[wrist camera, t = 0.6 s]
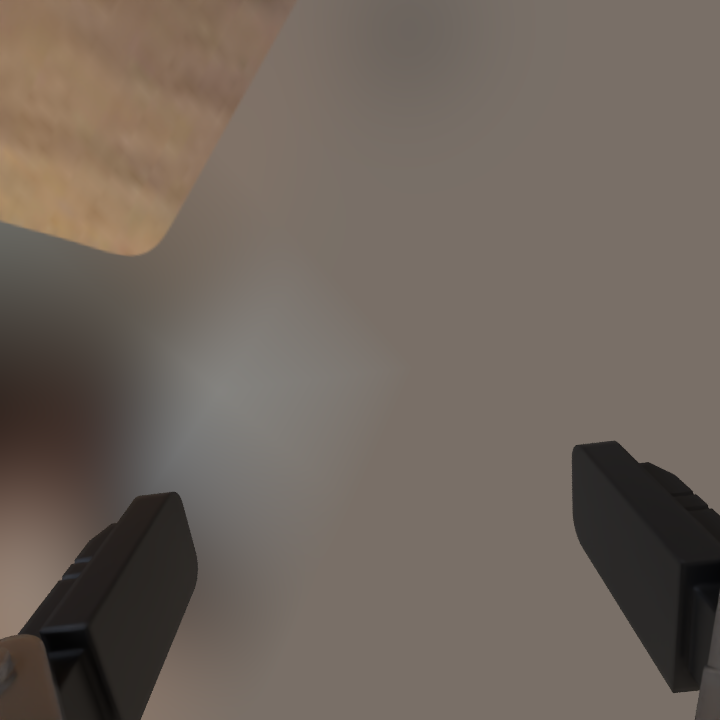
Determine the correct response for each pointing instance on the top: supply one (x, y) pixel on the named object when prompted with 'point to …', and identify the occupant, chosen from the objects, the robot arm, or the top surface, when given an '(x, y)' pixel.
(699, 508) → the robot arm
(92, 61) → the top surface
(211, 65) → the top surface
